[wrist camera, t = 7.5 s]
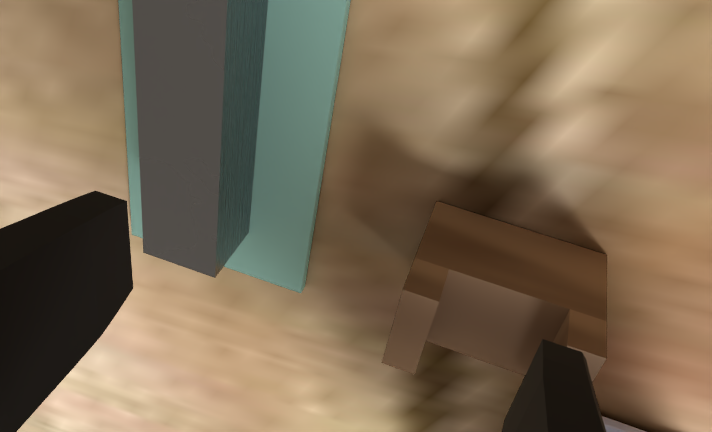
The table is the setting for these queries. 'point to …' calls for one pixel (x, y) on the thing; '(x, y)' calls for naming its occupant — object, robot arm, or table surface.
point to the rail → (197, 125)
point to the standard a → (498, 294)
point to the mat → (272, 134)
